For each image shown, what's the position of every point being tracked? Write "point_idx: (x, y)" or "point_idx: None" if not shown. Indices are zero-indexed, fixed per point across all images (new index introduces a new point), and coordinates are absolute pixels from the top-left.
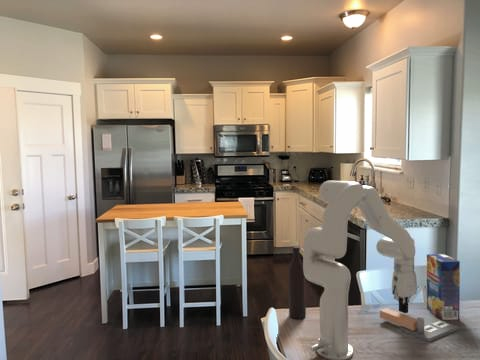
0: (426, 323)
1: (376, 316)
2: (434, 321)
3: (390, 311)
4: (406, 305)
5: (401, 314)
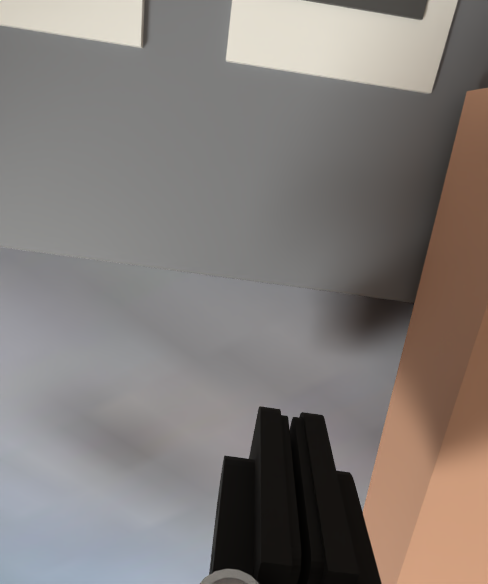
0: (177, 125)
1: None
2: (8, 73)
3: (469, 549)
4: (321, 526)
5: (483, 420)
